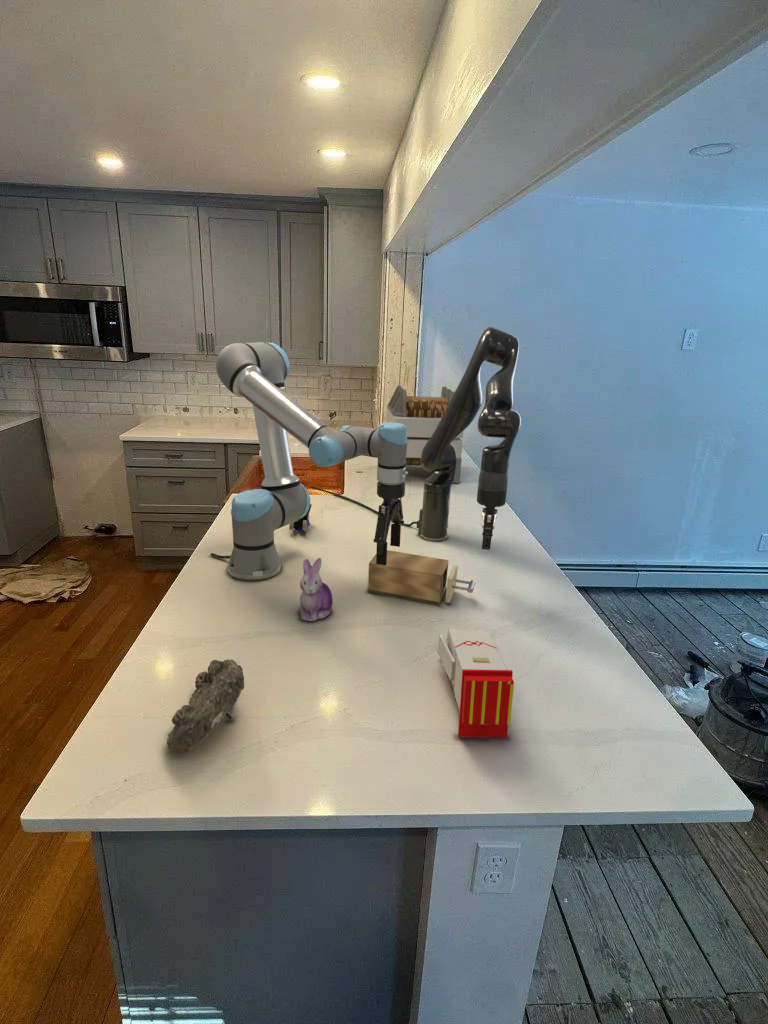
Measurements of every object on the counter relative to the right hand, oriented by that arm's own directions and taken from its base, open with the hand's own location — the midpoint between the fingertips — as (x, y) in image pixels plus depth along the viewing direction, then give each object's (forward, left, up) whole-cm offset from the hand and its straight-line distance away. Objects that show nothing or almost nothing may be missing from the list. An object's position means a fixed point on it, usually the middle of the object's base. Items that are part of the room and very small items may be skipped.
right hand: (486, 543), depth 154 cm
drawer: (-12, -9, -15) cm, 21 cm away
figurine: (-29, -37, -16) cm, 49 cm away
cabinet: (-18, -11, -16) cm, 26 cm away
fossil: (-18, -78, -16) cm, 82 cm away
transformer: (-80, +95, -16) cm, 125 cm away
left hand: (-23, -13, -6) cm, 27 cm away
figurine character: (-72, +3, -16) cm, 74 cm away
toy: (+17, -40, -16) cm, 47 cm away
